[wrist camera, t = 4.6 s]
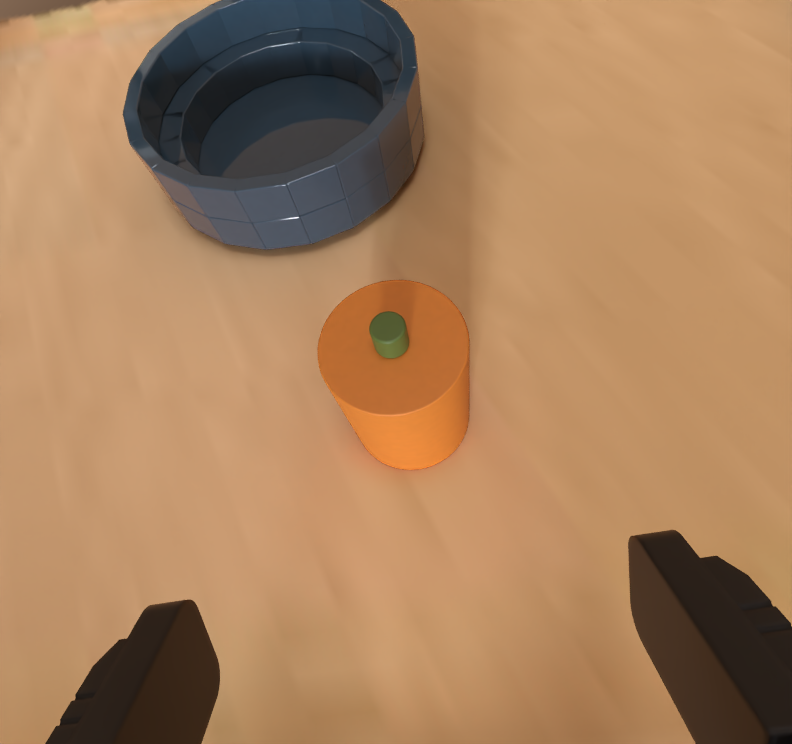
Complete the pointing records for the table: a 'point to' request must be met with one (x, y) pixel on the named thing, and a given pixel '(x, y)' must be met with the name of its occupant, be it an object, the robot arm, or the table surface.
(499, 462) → the table surface
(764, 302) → the table surface
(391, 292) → the squash
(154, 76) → the bowl
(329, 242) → the table surface
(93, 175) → the table surface
